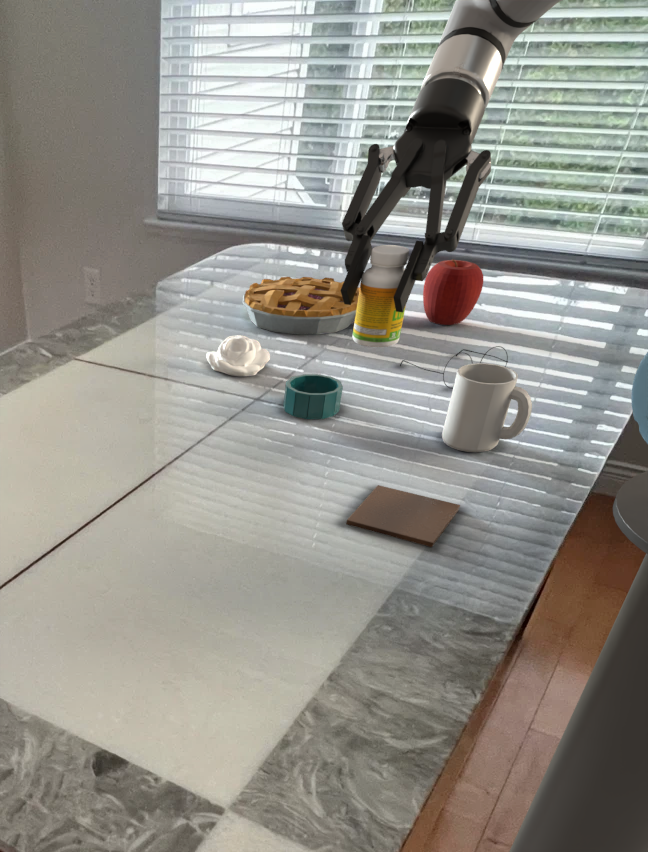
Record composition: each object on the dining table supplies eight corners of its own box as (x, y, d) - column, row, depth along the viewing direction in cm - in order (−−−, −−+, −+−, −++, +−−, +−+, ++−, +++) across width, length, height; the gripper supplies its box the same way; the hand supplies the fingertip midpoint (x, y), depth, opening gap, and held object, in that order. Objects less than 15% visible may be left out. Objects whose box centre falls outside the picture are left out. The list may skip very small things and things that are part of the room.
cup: (450, 426, 116) (466, 359, 110) (526, 441, 111) (547, 373, 105) (433, 445, 111) (449, 377, 105) (511, 462, 107) (533, 392, 101)
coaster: (459, 509, 99) (460, 504, 98) (432, 547, 93) (433, 542, 92) (377, 489, 103) (377, 484, 102) (345, 524, 97) (346, 519, 96)
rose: (268, 326, 135) (275, 347, 128) (265, 354, 138) (272, 376, 131) (206, 327, 136) (209, 348, 129) (204, 356, 139) (208, 378, 132)
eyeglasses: (393, 366, 133) (400, 333, 129) (461, 355, 135) (469, 322, 132) (436, 392, 125) (445, 357, 121) (507, 379, 127) (517, 344, 124)
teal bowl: (346, 404, 122) (350, 380, 120) (325, 423, 118) (329, 398, 115) (297, 394, 126) (300, 370, 123) (274, 412, 121) (277, 388, 119)
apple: (471, 315, 150) (486, 253, 143) (475, 333, 143) (491, 268, 136) (416, 313, 152) (428, 251, 145) (417, 330, 145) (430, 266, 138)
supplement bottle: (393, 350, 97) (411, 256, 90) (347, 345, 98) (360, 253, 92) (402, 336, 100) (420, 244, 94) (357, 331, 102) (371, 241, 95)
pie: (229, 333, 147) (231, 302, 143) (253, 296, 162) (255, 267, 159) (357, 342, 141) (362, 310, 138) (369, 303, 156) (374, 274, 153)
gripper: (538, 130, 92) (456, 331, 93) (375, 123, 100) (301, 309, 101) (541, 75, 85) (452, 292, 86) (367, 72, 93) (287, 271, 94)
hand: (371, 301), depth 93 cm, fingers closed on supplement bottle, 5 cm apart
